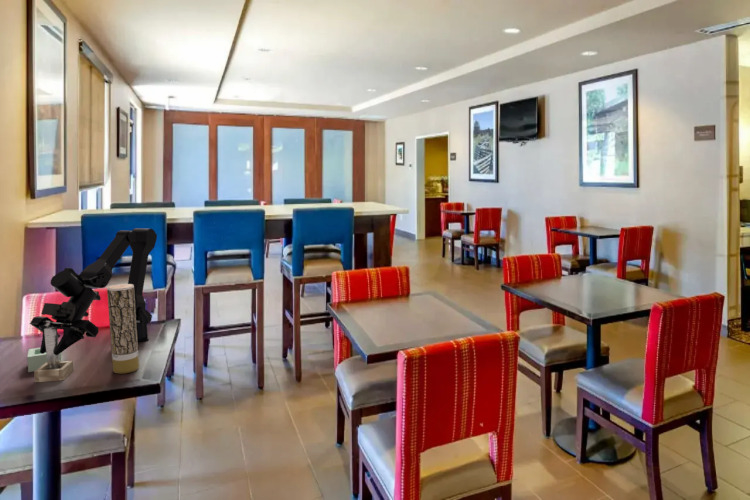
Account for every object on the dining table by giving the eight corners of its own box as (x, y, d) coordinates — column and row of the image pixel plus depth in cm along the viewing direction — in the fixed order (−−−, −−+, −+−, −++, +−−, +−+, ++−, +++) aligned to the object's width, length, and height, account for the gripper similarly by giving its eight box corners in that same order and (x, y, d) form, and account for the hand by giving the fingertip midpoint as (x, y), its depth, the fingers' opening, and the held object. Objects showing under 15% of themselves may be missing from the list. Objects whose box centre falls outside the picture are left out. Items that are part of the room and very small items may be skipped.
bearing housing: (73, 370, 138) (72, 360, 138) (63, 380, 131) (62, 369, 131) (46, 372, 137) (45, 362, 136) (34, 382, 130) (33, 371, 129)
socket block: (62, 358, 148) (60, 344, 147) (61, 366, 141) (60, 352, 140) (30, 363, 144) (29, 349, 143) (28, 372, 137) (27, 357, 136)
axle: (61, 373, 136) (57, 326, 134) (61, 377, 134) (56, 328, 132) (48, 375, 134) (44, 327, 133) (48, 379, 132) (43, 330, 130)
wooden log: (121, 376, 134) (115, 289, 131) (108, 371, 138) (102, 287, 134) (144, 368, 140) (138, 285, 136) (130, 364, 143) (125, 283, 140)
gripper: (32, 289, 137) (-1, 337, 127) (87, 292, 133) (56, 343, 123) (58, 308, 145) (28, 355, 136) (110, 312, 141) (83, 361, 132)
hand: (48, 353), depth 132 cm, fingers open, 4 cm apart
